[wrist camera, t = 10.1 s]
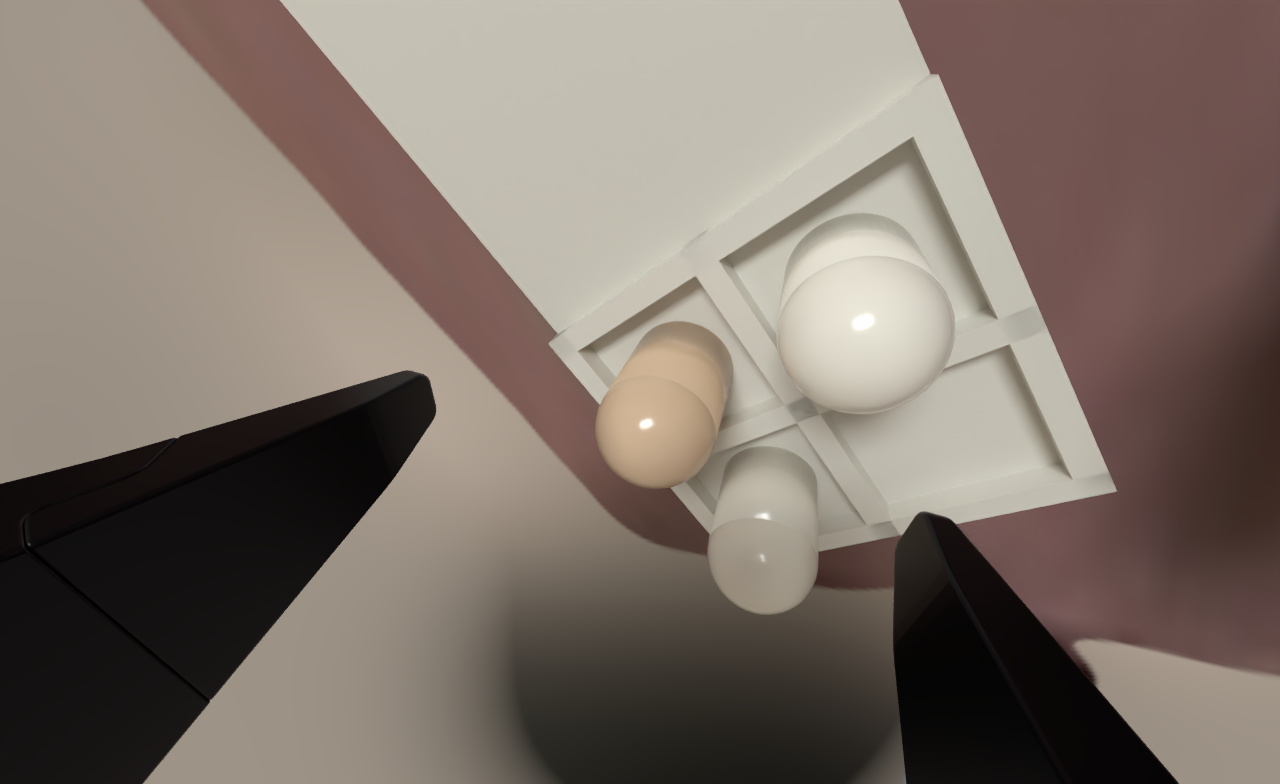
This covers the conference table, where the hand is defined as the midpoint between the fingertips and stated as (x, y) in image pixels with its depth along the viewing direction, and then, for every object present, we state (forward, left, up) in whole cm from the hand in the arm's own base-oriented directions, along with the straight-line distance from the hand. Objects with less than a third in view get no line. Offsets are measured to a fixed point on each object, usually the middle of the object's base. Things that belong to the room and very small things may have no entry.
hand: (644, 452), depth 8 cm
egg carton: (+1, 0, -12) cm, 12 cm away
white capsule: (-5, +10, -11) cm, 16 cm away
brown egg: (+1, +5, -11) cm, 12 cm away
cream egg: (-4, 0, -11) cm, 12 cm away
